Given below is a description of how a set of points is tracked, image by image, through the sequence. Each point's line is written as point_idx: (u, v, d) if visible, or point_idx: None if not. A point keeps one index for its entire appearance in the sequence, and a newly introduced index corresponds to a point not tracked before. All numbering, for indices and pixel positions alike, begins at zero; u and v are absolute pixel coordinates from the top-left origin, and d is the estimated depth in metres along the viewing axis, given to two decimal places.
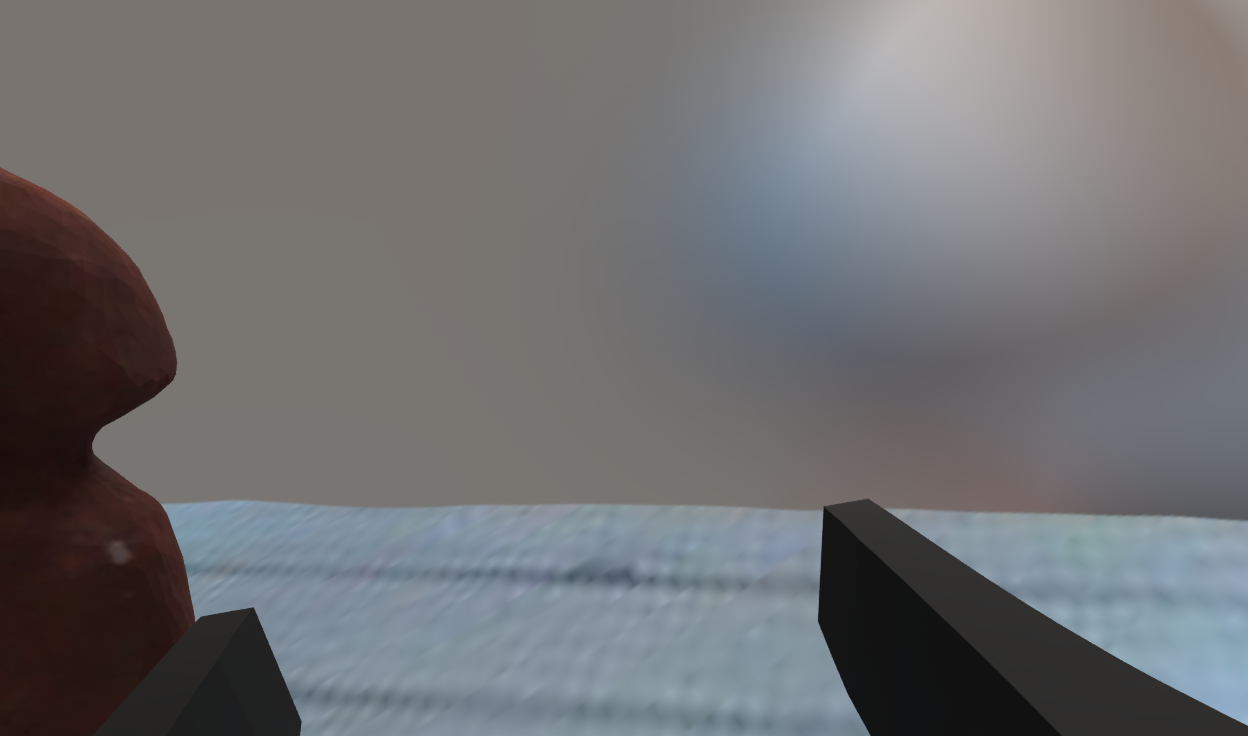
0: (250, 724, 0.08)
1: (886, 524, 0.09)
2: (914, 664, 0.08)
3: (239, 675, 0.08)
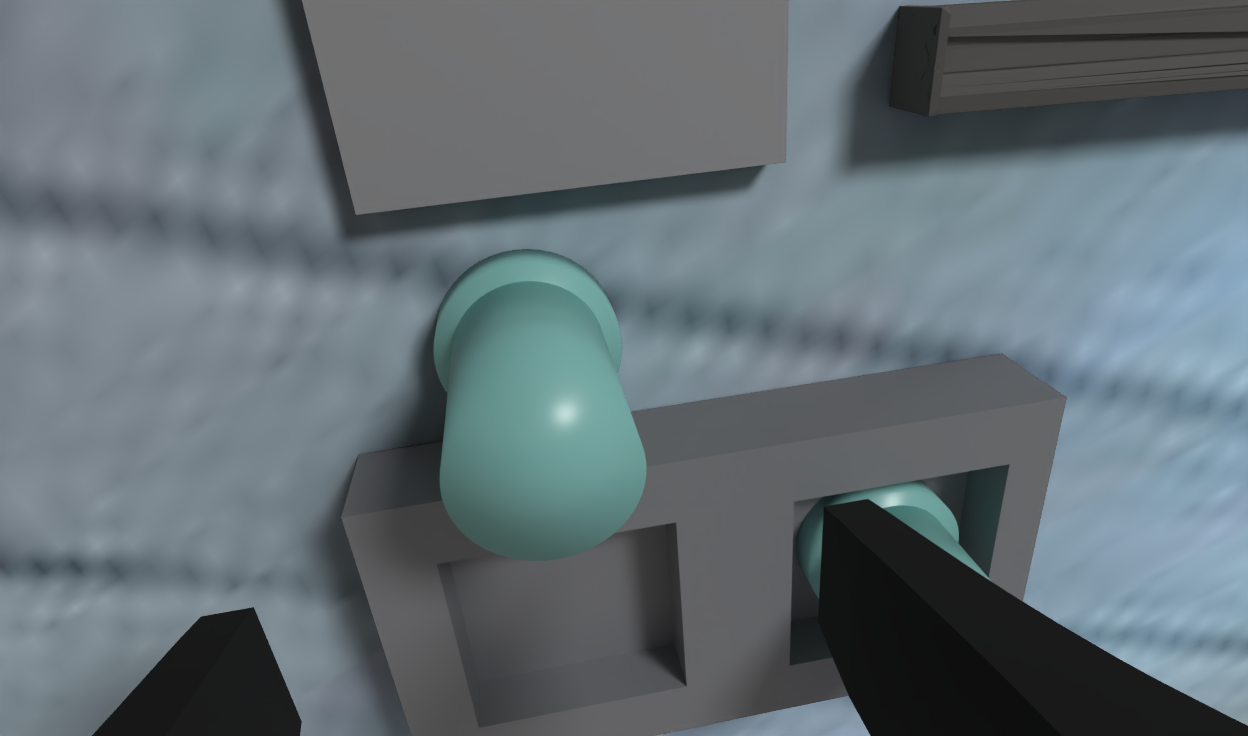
0: (250, 724, 0.08)
1: (886, 524, 0.09)
2: (914, 664, 0.08)
3: (239, 675, 0.08)
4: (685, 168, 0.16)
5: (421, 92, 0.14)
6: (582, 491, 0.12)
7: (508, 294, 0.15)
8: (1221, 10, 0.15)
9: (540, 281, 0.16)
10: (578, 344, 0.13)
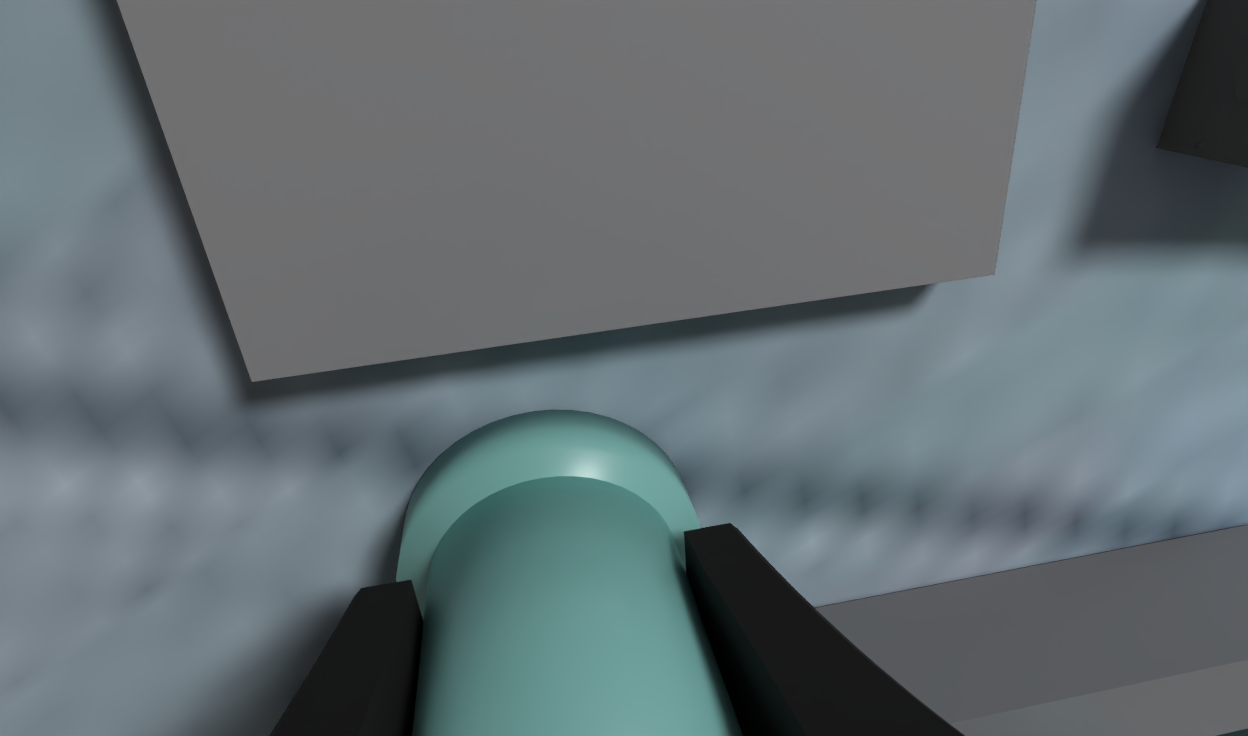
0: None
1: (736, 551, 0.09)
2: (745, 699, 0.08)
3: (409, 643, 0.08)
4: (828, 288, 0.09)
5: (363, 170, 0.08)
6: None
7: (523, 513, 0.09)
8: None
9: (576, 476, 0.09)
10: (664, 668, 0.07)
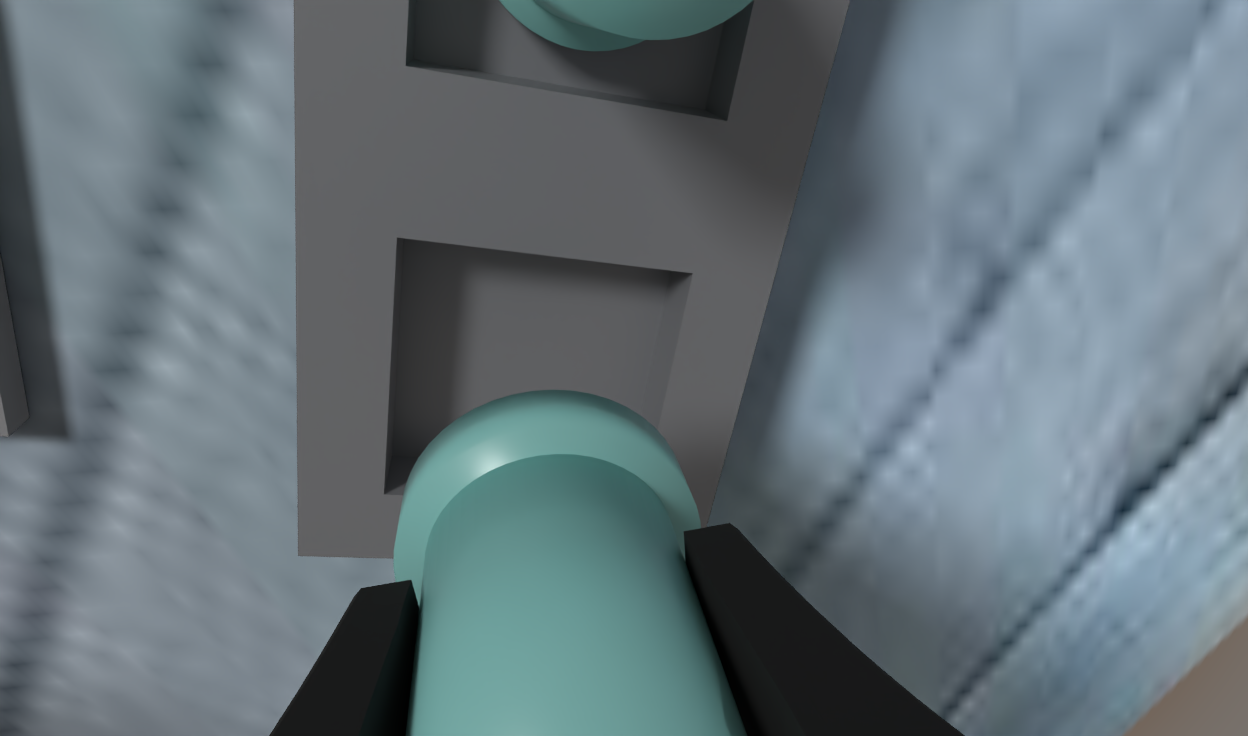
0: None
1: (737, 551, 0.09)
2: (745, 699, 0.08)
3: (409, 643, 0.08)
4: None
5: None
6: None
7: (506, 494, 0.09)
8: None
9: (559, 453, 0.09)
10: (643, 634, 0.07)
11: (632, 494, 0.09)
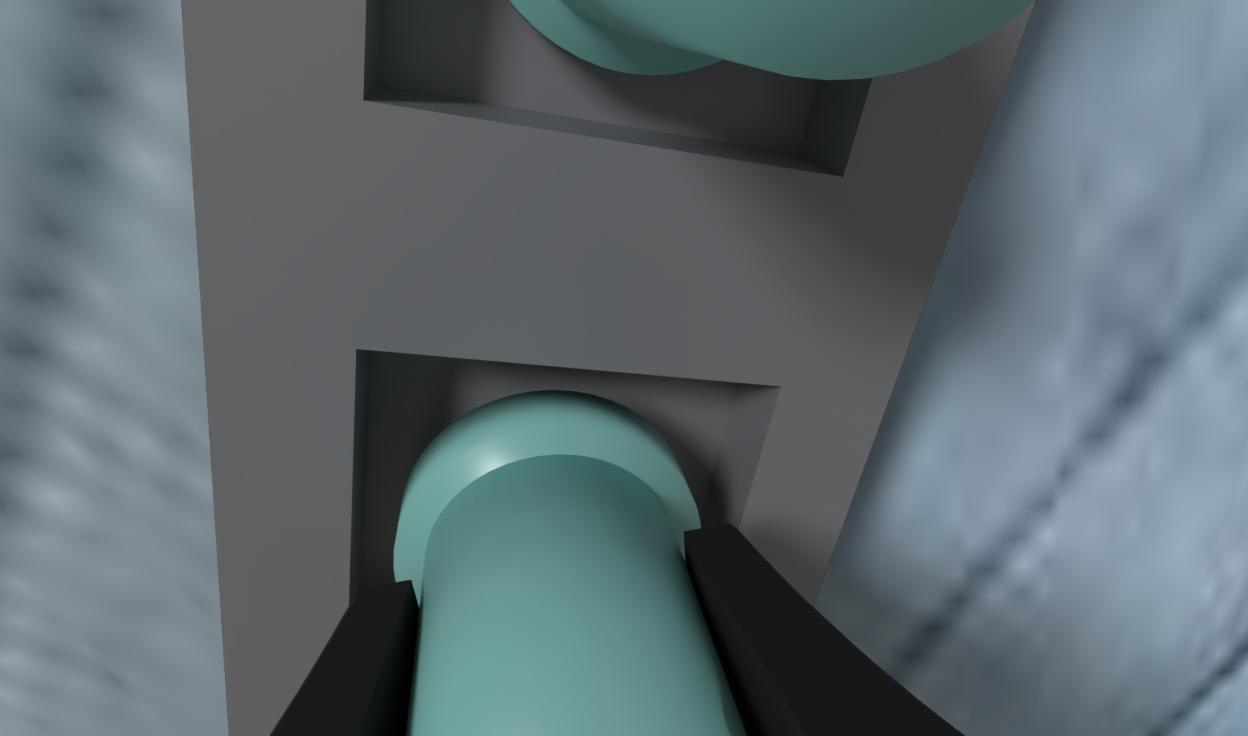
0: None
1: (737, 551, 0.09)
2: (745, 698, 0.08)
3: (409, 643, 0.08)
4: None
5: None
6: None
7: (506, 494, 0.09)
8: None
9: (559, 453, 0.09)
10: (643, 635, 0.07)
11: (632, 495, 0.09)
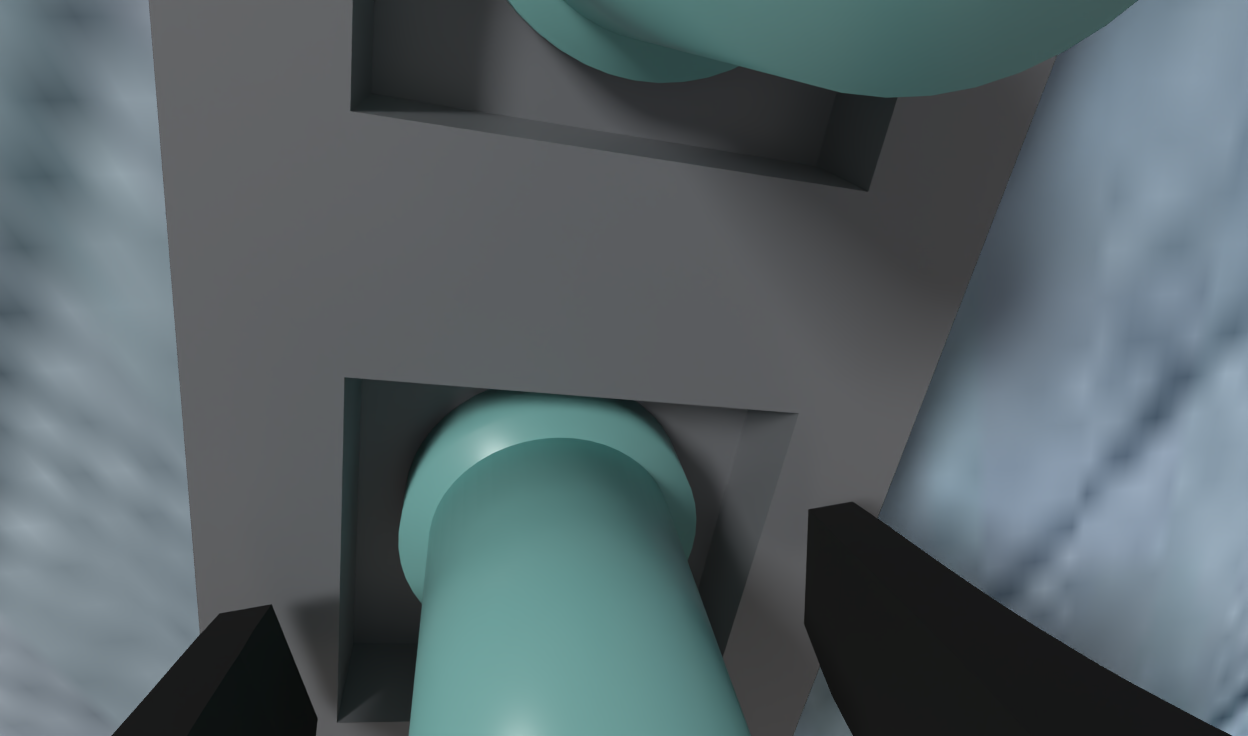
0: (269, 720, 0.08)
1: (870, 527, 0.09)
2: (896, 668, 0.08)
3: (259, 671, 0.08)
4: None
5: None
6: None
7: (507, 475, 0.09)
8: None
9: (558, 437, 0.10)
10: (639, 603, 0.07)
11: (629, 476, 0.10)
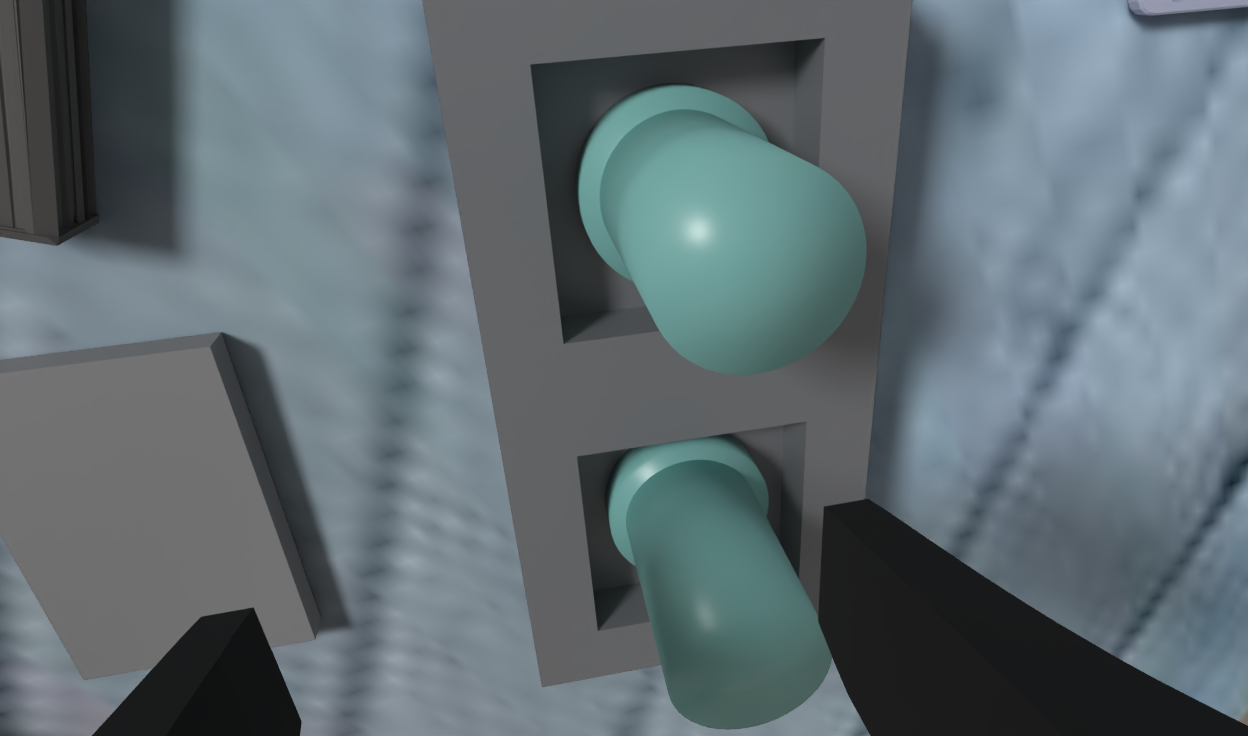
0: (250, 724, 0.08)
1: (887, 524, 0.09)
2: (914, 664, 0.08)
3: (239, 675, 0.08)
4: (235, 431, 0.17)
5: (213, 607, 0.19)
6: (782, 669, 0.15)
7: (661, 488, 0.18)
8: None
9: (682, 461, 0.18)
10: (738, 538, 0.16)
11: (723, 474, 0.18)
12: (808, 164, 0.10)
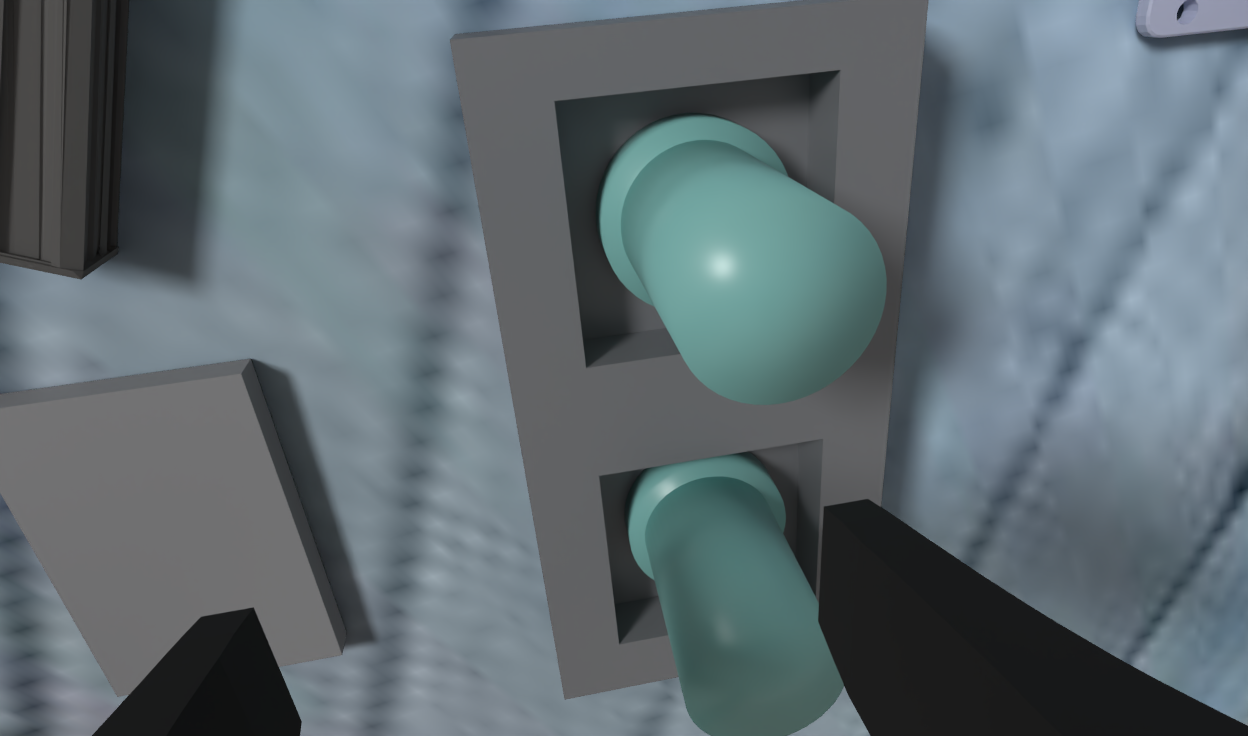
0: (250, 723, 0.08)
1: (887, 524, 0.09)
2: (914, 664, 0.08)
3: (239, 674, 0.08)
4: (264, 454, 0.18)
5: None
6: (799, 683, 0.15)
7: (678, 505, 0.18)
8: None
9: (698, 478, 0.19)
10: (752, 554, 0.16)
11: (738, 491, 0.18)
12: (830, 204, 0.11)
